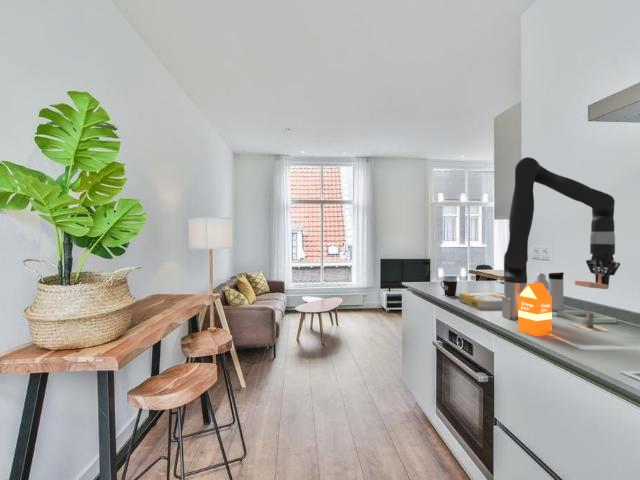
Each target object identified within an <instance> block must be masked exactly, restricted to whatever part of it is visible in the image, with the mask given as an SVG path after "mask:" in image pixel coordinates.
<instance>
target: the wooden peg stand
mask: <svg viewBox="0 0 640 480" xmlns="http://www.w3.org/2000/svg"><path fill="white" fill-rule="evenodd" d="M586 318H587V323H570V324H569V323H568V325H570V326H572V327H574V328H578V329H579V330H583V331H586V332H612V330H611V329H608V328H606V327H605V328H604V327H601V326H599V325H596V324H594V323H593V318H594V317H593V313H588V312H587V315H586Z"/></svg>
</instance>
